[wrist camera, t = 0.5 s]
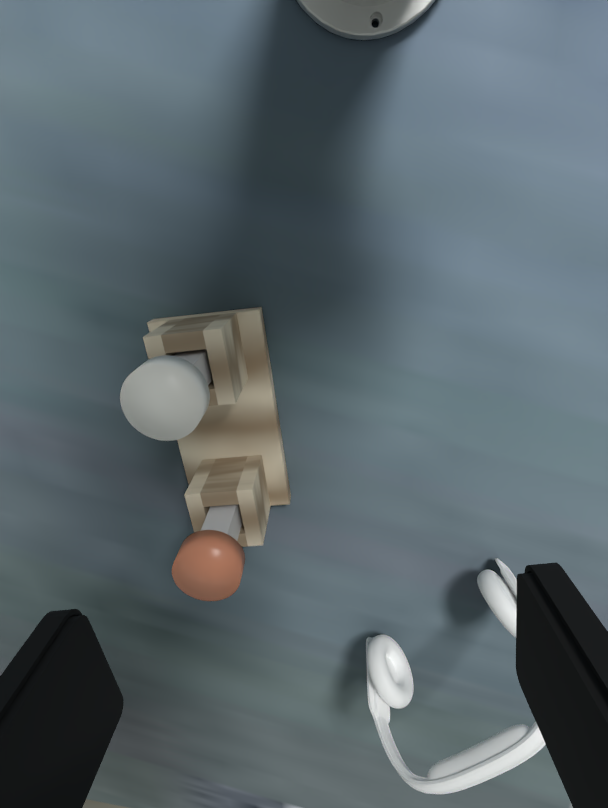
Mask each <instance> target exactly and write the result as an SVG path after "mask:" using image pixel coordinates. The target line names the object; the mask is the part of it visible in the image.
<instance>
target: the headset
mask: <svg viewBox="0 0 608 808" xmlns="http://www.w3.org/2000/svg"><path fill="white" fill-rule="evenodd" d="M495 561H496V563H497V565H498V566H499V568H500V569H501V570H500V572H501V574H502V576H503V577H504V579H505V581H506V582H507V583H506V582H505V581H504V580H503V579H502V578H501V577H500V576H499V575H498V574H497V573H496V572H494V571H492V570H489V569H487V570H483V571H482V572H480V574H479V575H478V577H477V583H478V587H479V589H480V591H481V593H482V595H483V597H484V599H485V600H486V602H487V604H488V605H489V607H490V608H491V610H492V611H493V613H494V614H495V616H496V617H497V618H498V620H499V621H500V622H501V623H502V625H503V626H504V627H505V628H506V629H507V630H508V631H509V632H510V633H511V634H512V635H513V636H514V637H515V638H516V611H517V580H516V578H515V576H514V575H513V573H512V572H511V571H510V569H509V568H508V567H507V566H506V565H505V564H504V563H503V562H501V561H500V560H499V559H497V558H496V559H495ZM507 584H508V585H507ZM366 663H367V693H368V704H369V708H370V711H371V713H372V715H373V718H374V722H375V725H376V728H377V731H378V734H379V737H380V739H381V742H382V745H383V747H384V749H385V751H386V754H387V756H388V758H389V759H390V761H391V763H392V764H393V766H394V767H395V769H396V771H397V772H398V774H399V775H400V776H401V778H402V779H403V780H404V781H405V782H406V783H407V784H408V785H410V786H411V787H412V788H414V789H416V790H418V791H420V792H423V793H429V794H447V793H453V792H457V791H460V790H463V789H466V788H469V787H472V786H474V785H477V784H479V783H482V782H484V781H486V780H489V779H491V778H493V777H495V776H498V775H500V774H502V773H504V772H506V771H508V770H510V769H512V768H514V767H516V766H517V765H519V764H521V763H523V762H524V761H526V760H527V759H529V758H530V757H532V756H533V755H535V754H536V753H537V752H538V751H539V750H540V749H542V748H543V747H544V746H545V741H544V739H543V737H542V734H541V732H540V730H539V727H538V725H537V723H536V721H535V723H534V724H533V726H532V727H531V728H530V727H529V726H527V725H524V724H517V725H514V726H511V727H509V728H507V729H505V730H503V731H501V732H499V733H497V734H495V735H493V736H491V737H489V738H488V739H486V740H484V741H482V742H480V743H478V744H476V745H474V746H472V747H470V748H468V749H466V750H464V751H462V752H460V753H457V754H455V755H453V756H451V757H448V758H446V759H443V760H441V761H439V762H437V763H436V764H434V765H433V766H432V767H431V768H430V770H429V772H428V775H427V778H426V777H420V776H417V775H415V774H413V773H412V772H411V771H410V769H409V768H408V767H407V765H406V764H405V762H404V761H403V759H402V757H401V755H400V754H399V751H398V749H397V747H396V745H395V742H394V740H393V737H392V735H391V732H390V729H389V726H388V723H389V721H390V706H391V707H393V708H397V709H400V708H404V707H405V706H407V705H408V704H409V702H410V701H411V699H412V696H413V689H414V687H413V677H412V673H411V669H410V666H409V663H408V661H407V658H406V656H405V654H404V652H403V651H402V649H401V648H400V646H399V645H398V644H397V642H396V641H395V640H394V639H392V638H391V637H389V636H387V635H383V634H382V635H377V636H375V637H374V638H372V637H368V638H367V639H366Z"/></svg>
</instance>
